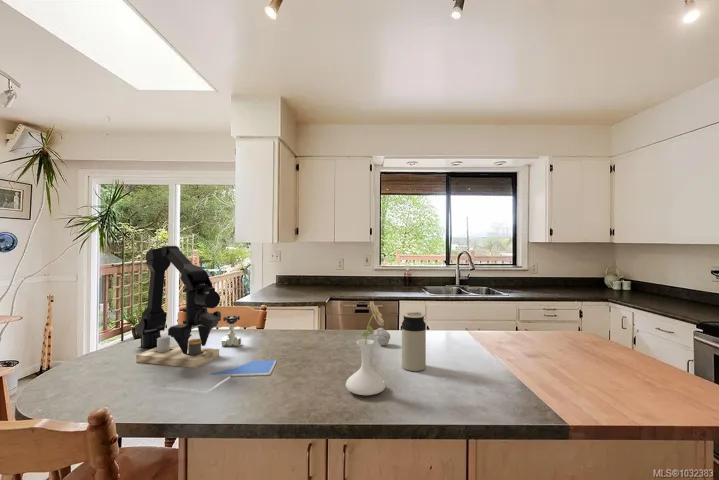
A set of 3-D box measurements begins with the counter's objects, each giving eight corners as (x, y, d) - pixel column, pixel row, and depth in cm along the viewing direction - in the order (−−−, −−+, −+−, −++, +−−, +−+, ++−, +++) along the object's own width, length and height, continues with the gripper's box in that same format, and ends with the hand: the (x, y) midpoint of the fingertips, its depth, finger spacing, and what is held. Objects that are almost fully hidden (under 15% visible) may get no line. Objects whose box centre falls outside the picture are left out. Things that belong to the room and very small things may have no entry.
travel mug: (430, 367, 113) (430, 313, 113) (417, 374, 107) (417, 317, 107) (410, 361, 118) (410, 310, 118) (397, 367, 112) (397, 314, 112)
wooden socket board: (136, 363, 116) (136, 354, 116) (163, 352, 127) (163, 344, 127) (196, 369, 110) (196, 360, 110) (219, 357, 122) (219, 349, 122)
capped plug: (185, 361, 116) (185, 341, 116) (193, 357, 120) (193, 338, 120) (195, 362, 115) (195, 342, 115) (203, 358, 119) (203, 339, 119)
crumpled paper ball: (379, 342, 142) (379, 325, 142) (393, 344, 137) (393, 328, 138) (371, 345, 137) (371, 328, 137) (385, 348, 133) (385, 331, 133)
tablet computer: (206, 379, 104) (206, 375, 104) (220, 364, 116) (220, 360, 116) (269, 377, 105) (269, 373, 105) (276, 363, 118) (276, 359, 118)
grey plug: (154, 358, 119) (154, 339, 119) (163, 355, 123) (163, 336, 123) (163, 359, 118) (163, 340, 118) (172, 355, 122) (172, 336, 122)
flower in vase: (373, 403, 87) (373, 307, 87) (337, 393, 93) (337, 303, 93) (395, 385, 98) (395, 300, 98) (362, 377, 104) (362, 297, 104)
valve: (236, 349, 131) (236, 319, 131) (219, 349, 131) (219, 319, 131) (242, 344, 138) (242, 315, 138) (226, 344, 138) (226, 315, 138)
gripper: (196, 311, 107) (196, 360, 107) (231, 301, 125) (230, 343, 125) (166, 310, 109) (166, 357, 109) (205, 300, 127) (204, 341, 127)
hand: (194, 349), depth 117 cm, fingers open, 9 cm apart
